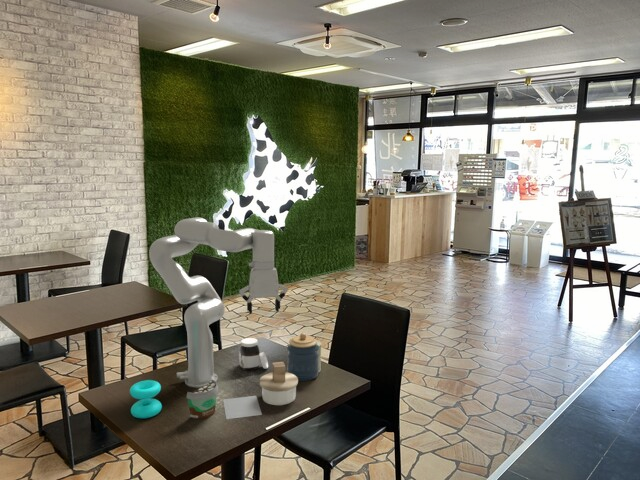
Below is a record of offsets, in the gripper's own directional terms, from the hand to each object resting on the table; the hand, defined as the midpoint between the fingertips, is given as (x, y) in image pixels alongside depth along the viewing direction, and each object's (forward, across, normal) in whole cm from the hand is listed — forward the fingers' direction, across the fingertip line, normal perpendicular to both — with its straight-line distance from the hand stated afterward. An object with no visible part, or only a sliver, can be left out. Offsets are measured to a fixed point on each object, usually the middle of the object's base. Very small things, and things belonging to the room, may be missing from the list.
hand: (263, 311), depth 172 cm
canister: (+32, +18, +14) cm, 40 cm away
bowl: (+32, +5, -3) cm, 33 cm away
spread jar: (+33, 0, +26) cm, 42 cm away
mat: (+32, -9, -7) cm, 34 cm away
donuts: (+33, -41, -2) cm, 52 cm away
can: (+32, +22, +18) cm, 43 cm away
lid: (+26, +5, -3) cm, 27 cm away
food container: (+32, -21, -9) cm, 40 cm away
